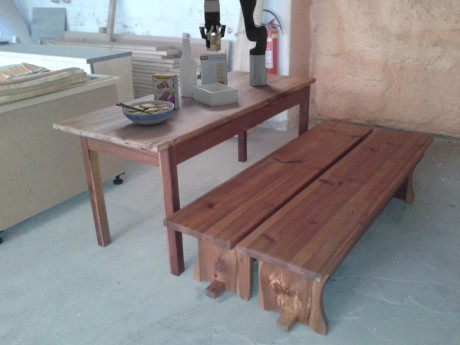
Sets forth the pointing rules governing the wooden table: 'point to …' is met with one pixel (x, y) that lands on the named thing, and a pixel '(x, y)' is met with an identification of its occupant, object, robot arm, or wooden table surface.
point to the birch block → (214, 43)
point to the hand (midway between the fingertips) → (213, 47)
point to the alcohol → (187, 70)
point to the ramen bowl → (147, 111)
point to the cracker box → (213, 68)
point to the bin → (215, 94)
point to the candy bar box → (166, 88)
